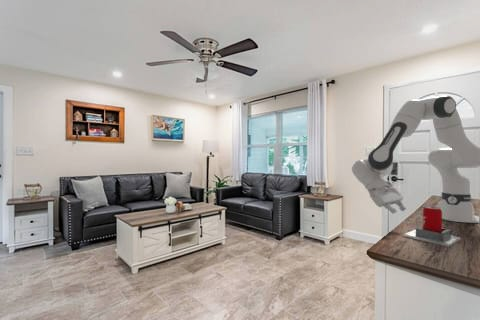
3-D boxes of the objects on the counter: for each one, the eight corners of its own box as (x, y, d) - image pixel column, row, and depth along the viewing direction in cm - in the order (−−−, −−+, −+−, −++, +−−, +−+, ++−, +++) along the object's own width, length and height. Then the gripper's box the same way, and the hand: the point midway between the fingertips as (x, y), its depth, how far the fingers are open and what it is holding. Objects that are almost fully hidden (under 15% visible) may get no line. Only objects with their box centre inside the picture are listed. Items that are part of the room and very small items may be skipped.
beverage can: (434, 233, 105) (434, 205, 105) (445, 238, 99) (446, 208, 99) (419, 233, 105) (419, 205, 105) (429, 238, 99) (429, 208, 99)
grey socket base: (417, 230, 112) (417, 222, 112) (460, 239, 100) (460, 230, 100) (404, 236, 104) (404, 227, 104) (448, 247, 92) (448, 236, 92)
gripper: (371, 185, 112) (394, 210, 104) (392, 182, 124) (414, 205, 116) (362, 193, 116) (383, 218, 108) (383, 190, 127) (403, 212, 120)
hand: (399, 211), depth 112 cm, fingers open, 8 cm apart
